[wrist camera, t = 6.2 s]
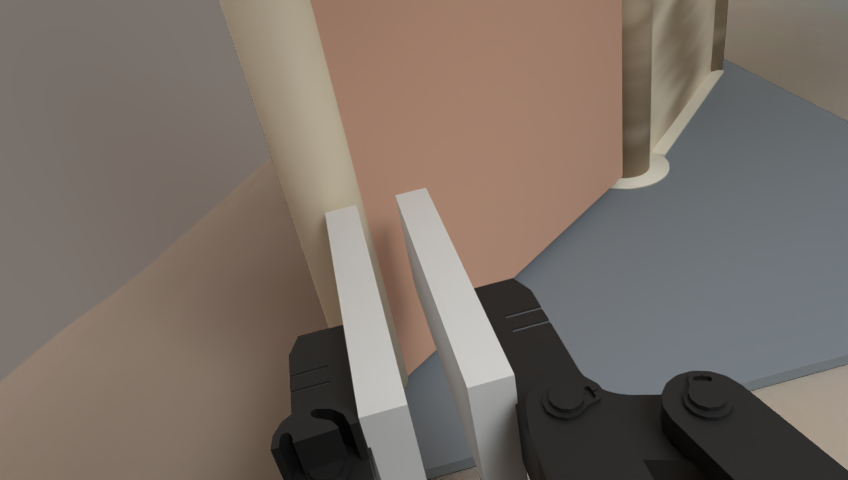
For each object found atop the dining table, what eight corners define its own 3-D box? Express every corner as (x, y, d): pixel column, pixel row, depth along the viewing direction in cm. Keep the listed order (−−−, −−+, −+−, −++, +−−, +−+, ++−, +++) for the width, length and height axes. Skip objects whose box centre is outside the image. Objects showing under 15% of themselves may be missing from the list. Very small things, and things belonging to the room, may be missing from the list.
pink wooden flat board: (590, 169, 28) (577, -173, 21) (629, 177, 27) (629, -181, 20) (337, 389, 20) (182, -56, 13) (378, 414, 19) (232, -58, 12)
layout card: (717, 63, 37) (718, 54, 37) (1142, 283, 19) (1149, 269, 19) (324, 157, 36) (322, 149, 36) (371, 494, 18) (367, 483, 17)
